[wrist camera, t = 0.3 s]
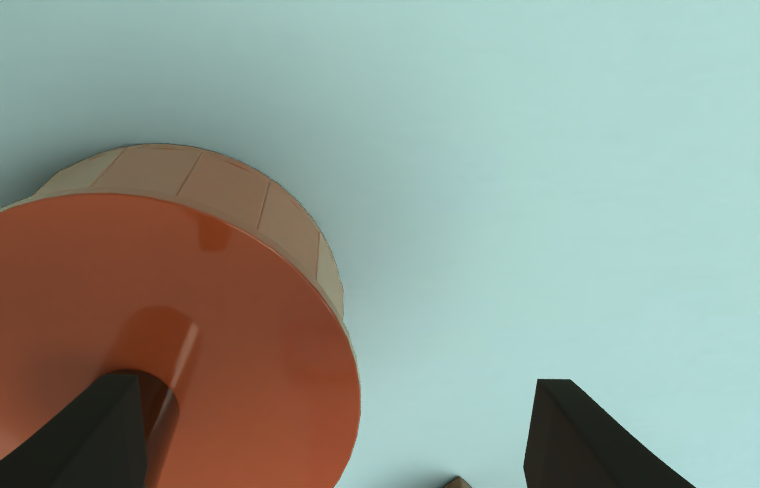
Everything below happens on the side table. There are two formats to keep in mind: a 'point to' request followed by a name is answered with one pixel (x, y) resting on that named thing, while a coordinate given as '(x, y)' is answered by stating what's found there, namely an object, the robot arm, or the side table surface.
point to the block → (457, 484)
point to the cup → (213, 196)
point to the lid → (176, 337)
